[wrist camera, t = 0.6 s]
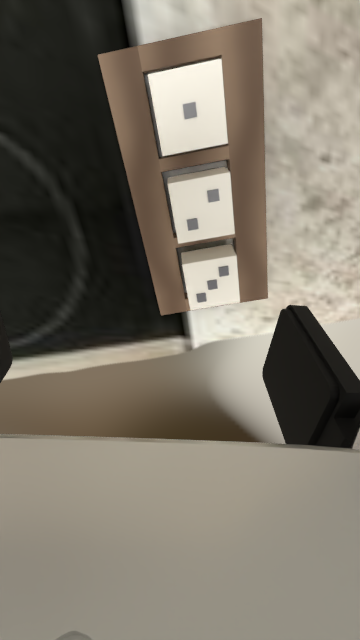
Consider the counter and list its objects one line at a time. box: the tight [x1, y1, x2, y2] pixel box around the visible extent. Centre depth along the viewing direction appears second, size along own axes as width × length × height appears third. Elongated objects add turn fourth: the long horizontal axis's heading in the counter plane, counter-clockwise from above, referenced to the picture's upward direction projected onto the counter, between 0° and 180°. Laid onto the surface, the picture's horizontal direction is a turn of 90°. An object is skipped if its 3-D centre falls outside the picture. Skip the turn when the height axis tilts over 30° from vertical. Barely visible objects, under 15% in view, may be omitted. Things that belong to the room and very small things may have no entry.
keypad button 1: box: [148, 59, 228, 156], centre depth 24 cm, size 5×5×3 cm
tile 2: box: [168, 167, 235, 244], centre depth 27 cm, size 5×5×3 cm
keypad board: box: [98, 18, 268, 315], centre depth 30 cm, size 12×23×2 cm, turn 10°
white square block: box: [181, 244, 240, 310], centre depth 31 cm, size 5×5×3 cm
